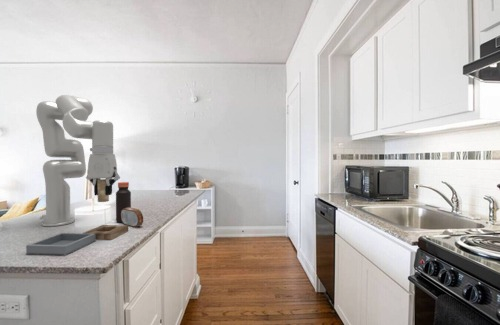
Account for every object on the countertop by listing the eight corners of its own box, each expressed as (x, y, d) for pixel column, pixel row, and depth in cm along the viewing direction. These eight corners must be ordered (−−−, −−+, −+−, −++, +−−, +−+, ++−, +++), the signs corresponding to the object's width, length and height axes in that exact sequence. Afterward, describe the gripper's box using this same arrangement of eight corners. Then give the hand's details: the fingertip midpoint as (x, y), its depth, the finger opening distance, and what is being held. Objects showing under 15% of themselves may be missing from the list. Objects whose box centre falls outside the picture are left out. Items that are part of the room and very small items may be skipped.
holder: (82, 239, 97) (82, 232, 97) (102, 230, 109) (102, 224, 109) (111, 239, 96) (111, 233, 96) (128, 231, 108) (128, 225, 108)
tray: (26, 254, 81) (26, 245, 81) (61, 240, 95) (61, 232, 95) (65, 255, 80) (65, 246, 80) (95, 241, 94) (95, 233, 94)
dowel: (95, 202, 99) (95, 180, 99) (101, 200, 103) (101, 179, 103) (104, 202, 99) (104, 180, 99) (110, 200, 103) (110, 179, 103)
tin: (143, 227, 114) (143, 209, 114) (137, 228, 112) (137, 210, 112) (125, 222, 123) (125, 206, 122) (119, 224, 120) (119, 207, 120)
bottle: (125, 223, 121) (124, 183, 121) (112, 222, 122) (112, 183, 122) (133, 220, 128) (133, 182, 127) (122, 219, 129) (122, 181, 129)
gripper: (76, 150, 98) (77, 196, 98) (117, 150, 97) (117, 196, 97) (89, 151, 105) (90, 193, 105) (127, 151, 104) (127, 193, 104)
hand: (103, 194), depth 101 cm, fingers closed on dowel, 4 cm apart
